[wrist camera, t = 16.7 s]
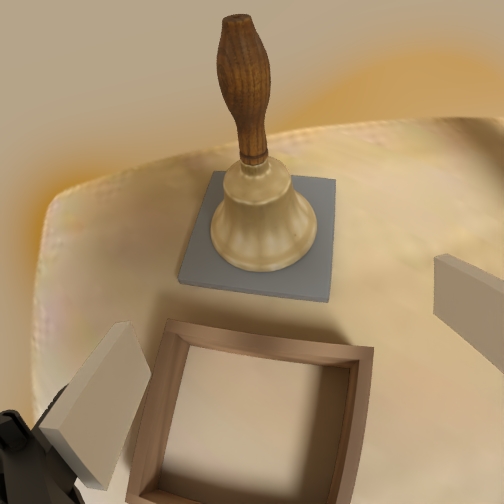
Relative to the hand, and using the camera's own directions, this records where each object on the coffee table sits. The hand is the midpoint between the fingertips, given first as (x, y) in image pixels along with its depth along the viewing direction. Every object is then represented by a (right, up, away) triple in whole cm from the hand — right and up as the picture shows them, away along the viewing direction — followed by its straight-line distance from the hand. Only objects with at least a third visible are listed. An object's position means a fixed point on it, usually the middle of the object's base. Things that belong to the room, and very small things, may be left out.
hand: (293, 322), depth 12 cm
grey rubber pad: (-1, +5, +13) cm, 14 cm away
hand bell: (-1, +5, +12) cm, 13 cm away
